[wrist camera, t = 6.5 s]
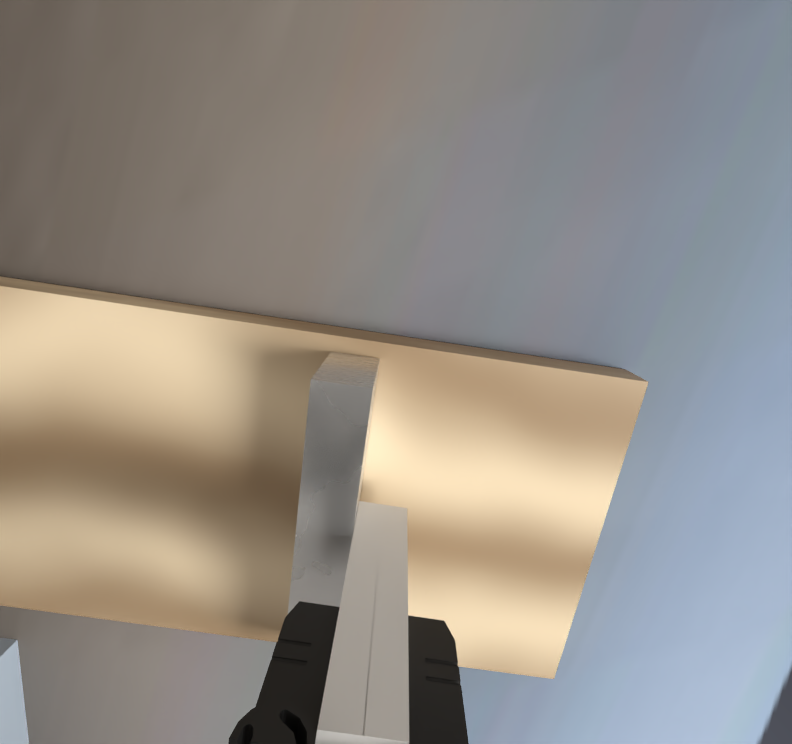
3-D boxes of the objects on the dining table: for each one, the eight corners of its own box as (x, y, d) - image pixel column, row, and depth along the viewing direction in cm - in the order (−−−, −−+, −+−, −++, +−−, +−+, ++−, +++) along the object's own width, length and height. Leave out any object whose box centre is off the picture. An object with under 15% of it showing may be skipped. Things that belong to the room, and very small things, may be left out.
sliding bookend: (339, 641, 16) (325, 725, 13) (300, 636, 16) (277, 719, 13) (379, 358, 13) (372, 388, 10) (331, 351, 13) (310, 379, 10)
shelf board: (542, 644, 18) (585, 769, 14) (-117, 555, 17) (-289, 656, 13) (624, 369, 15) (715, 417, 10) (-179, 249, 14) (-435, 249, 10)
